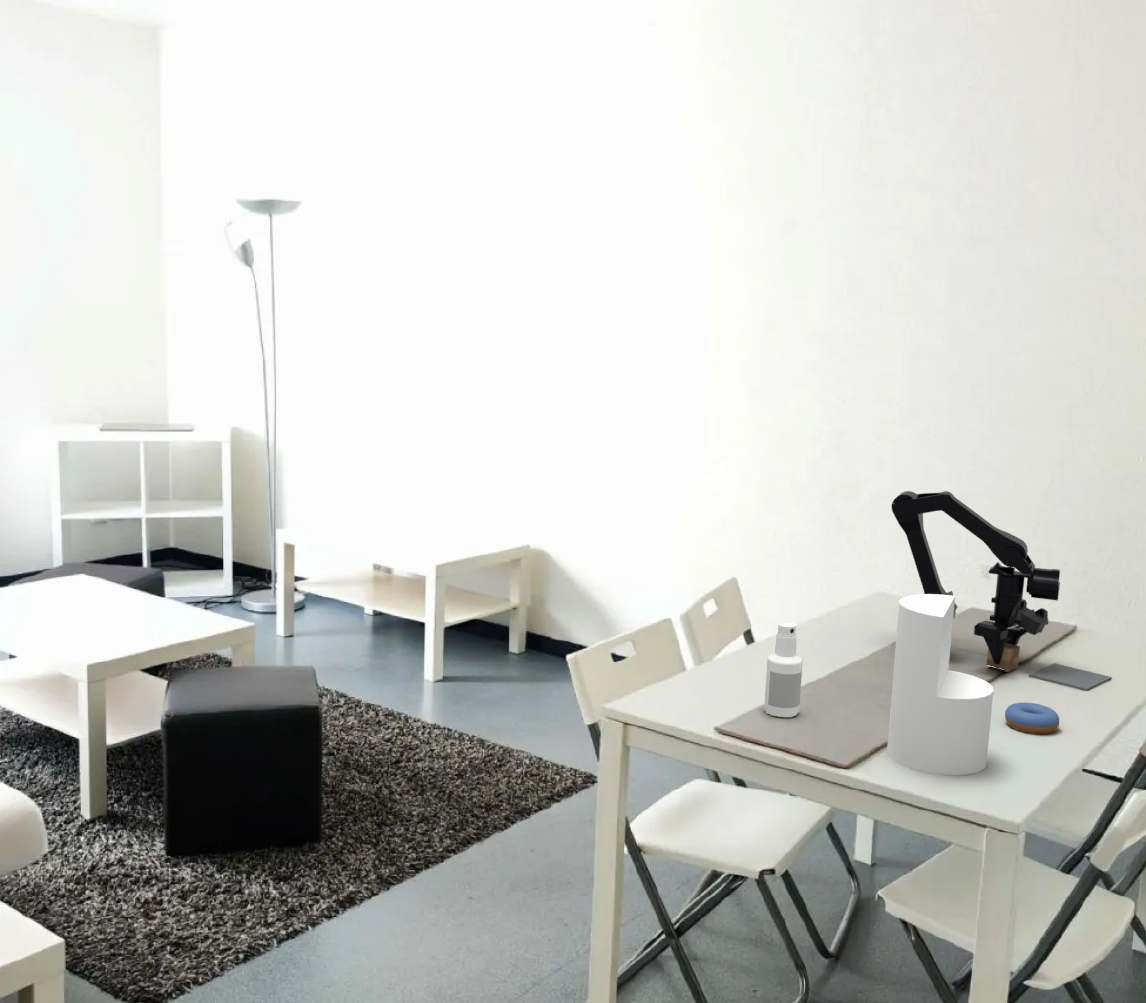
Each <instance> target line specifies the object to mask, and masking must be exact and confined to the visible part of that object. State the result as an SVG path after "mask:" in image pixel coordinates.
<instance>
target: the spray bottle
mask: <svg viewBox="0 0 1146 1003" xmlns="http://www.w3.org/2000/svg"><path fill="white" fill-rule="evenodd" d="M796 630H797V624H795V623H793V622H786V623H778V625H777V634H776V638H775V646H774V652H773V653H771V654H770V655H768V657H767V661H766V674H765V675H766V676H765V692H764V706H763V710H764V709H765V710H764V712H765V711H767V712H769V713H772V714H778V715H793V714H797V713H798V712H799V713H800V708H801V692H802V689H801V688H802V675H803V674H802V673H803V662H804V661H803V659H802V658H801V657H800V656H799V655H797V633H796Z"/></svg>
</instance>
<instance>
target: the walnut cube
mask: <svg viewBox="0 0 1146 1003" xmlns="http://www.w3.org/2000/svg"><path fill="white" fill-rule="evenodd" d="M1020 649H1021V646H1019V645H1017V646H1016V645H1012V644H1008V643H1005V644H1004V649H1003V653H1002V657H1001V661H1000V664H995V663H994V661H993V658H992V656H991V653H990V651H989V648H988V647H987V657H986V666H987V665H990V666H994V667H996V668H1001V669H1004V670H1005V671H1004V672H1006V673H1008V672H1011V671H1014V670H1017V669H1018V668H1019V660H1020Z"/></svg>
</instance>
